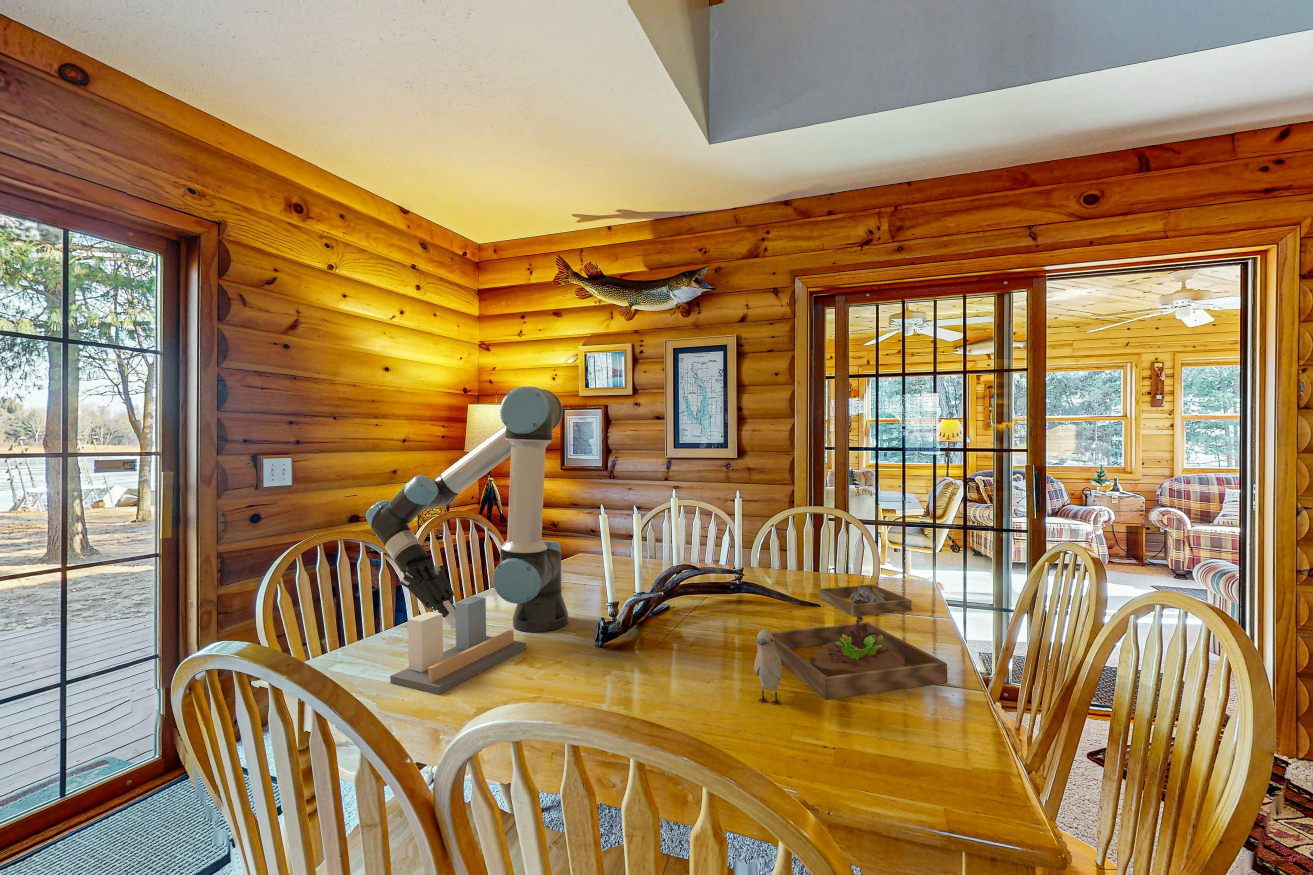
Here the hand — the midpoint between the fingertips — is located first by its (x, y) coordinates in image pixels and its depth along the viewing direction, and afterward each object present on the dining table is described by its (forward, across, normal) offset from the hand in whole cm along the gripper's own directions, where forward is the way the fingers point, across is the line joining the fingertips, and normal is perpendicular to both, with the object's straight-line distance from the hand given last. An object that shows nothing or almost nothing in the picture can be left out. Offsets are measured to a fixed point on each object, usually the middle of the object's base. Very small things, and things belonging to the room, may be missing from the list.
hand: (457, 624), depth 146 cm
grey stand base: (+10, +7, +2) cm, 12 cm away
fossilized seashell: (+67, -79, +57) cm, 118 cm away
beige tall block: (+6, +14, 0) cm, 15 cm away
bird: (+59, -3, +50) cm, 78 cm away
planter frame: (+67, -28, +58) cm, 93 cm away
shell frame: (+65, -78, +56) cm, 116 cm away
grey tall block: (+6, 0, 0) cm, 6 cm away
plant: (+69, -29, +59) cm, 96 cm away
